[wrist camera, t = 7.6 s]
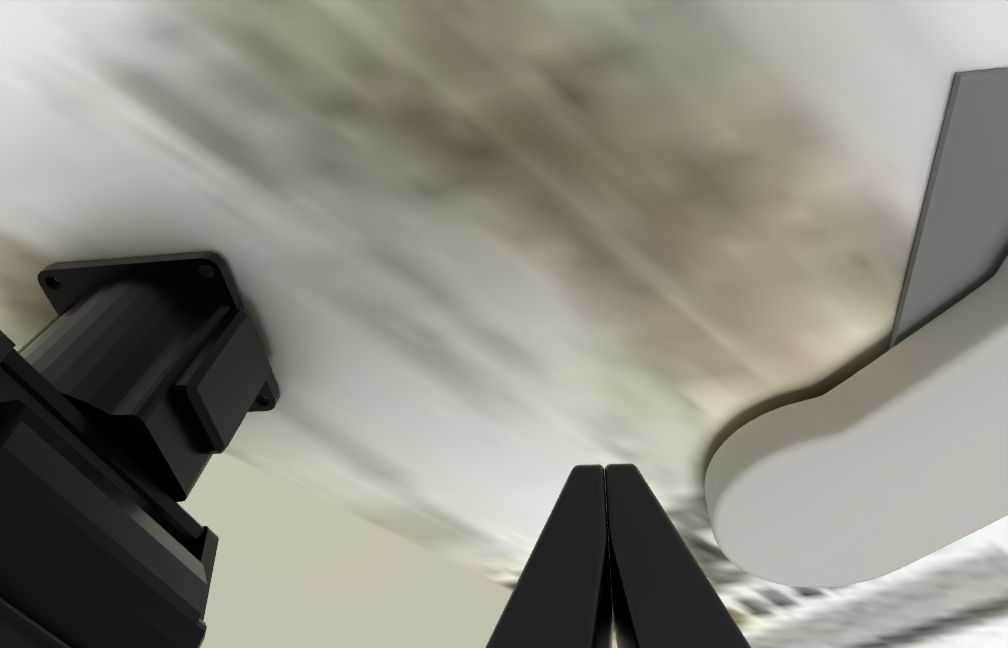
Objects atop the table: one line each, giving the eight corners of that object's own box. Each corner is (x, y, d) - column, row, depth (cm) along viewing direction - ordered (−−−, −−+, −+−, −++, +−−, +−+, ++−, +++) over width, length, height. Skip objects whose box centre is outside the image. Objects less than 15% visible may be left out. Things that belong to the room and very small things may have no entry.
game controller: (657, 478, 26) (801, 568, 28) (664, 527, 24) (818, 618, 26) (1230, 61, 16) (1375, 252, 19) (1317, 87, 14) (1465, 296, 17)
